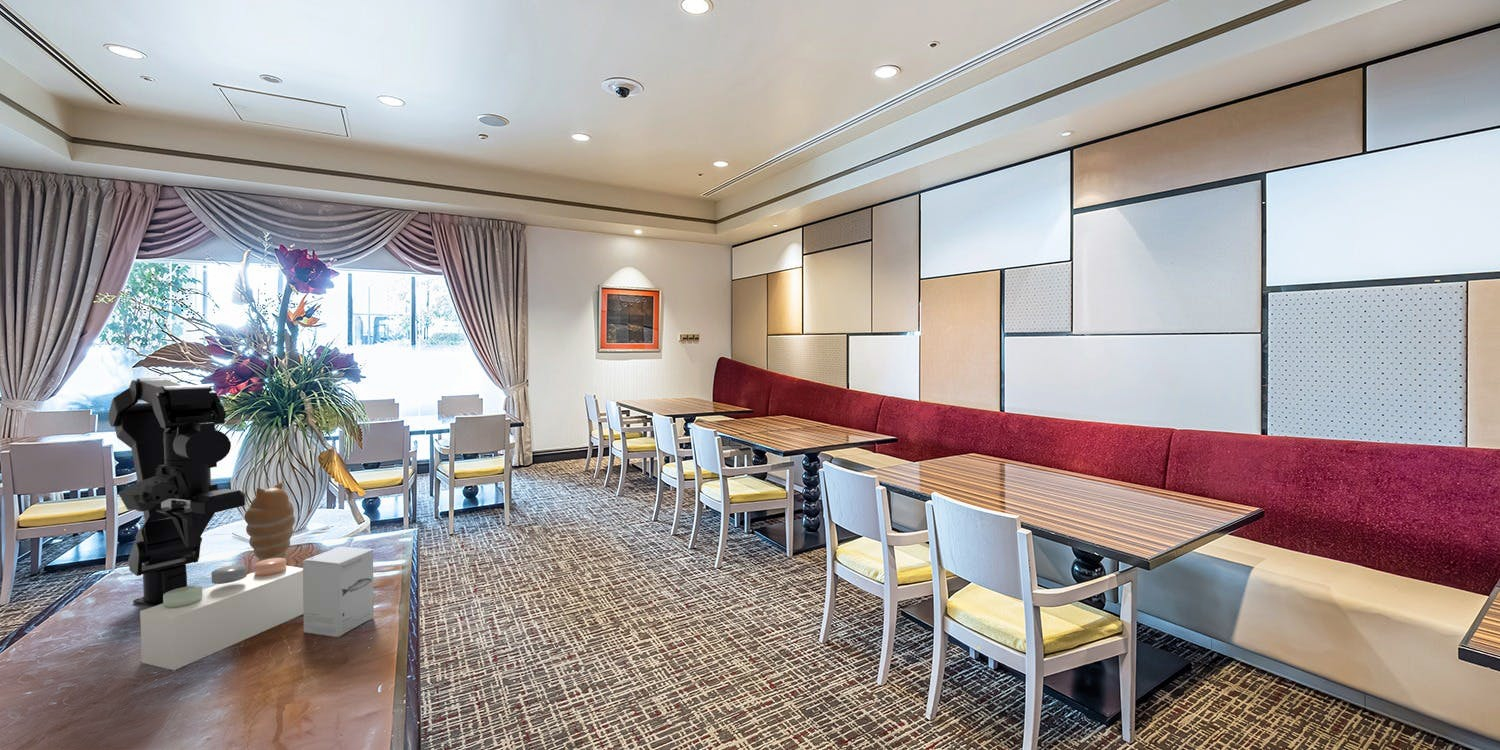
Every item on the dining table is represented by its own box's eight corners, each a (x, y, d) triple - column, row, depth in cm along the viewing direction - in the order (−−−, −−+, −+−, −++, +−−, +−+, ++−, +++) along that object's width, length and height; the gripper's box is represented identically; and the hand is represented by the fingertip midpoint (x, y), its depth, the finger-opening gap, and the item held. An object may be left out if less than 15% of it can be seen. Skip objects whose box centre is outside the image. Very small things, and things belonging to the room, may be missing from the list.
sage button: (156, 604, 91) (155, 595, 91) (189, 593, 95) (189, 584, 95) (176, 608, 90) (175, 599, 90) (209, 597, 94) (209, 587, 94)
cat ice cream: (277, 559, 132) (275, 479, 131) (306, 562, 130) (304, 481, 129) (235, 574, 123) (233, 489, 122) (266, 577, 122) (264, 491, 121)
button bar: (141, 662, 90) (140, 611, 89) (278, 606, 109) (277, 564, 108) (174, 670, 88) (172, 617, 87) (307, 612, 107) (306, 568, 107)
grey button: (204, 581, 97) (204, 572, 97) (234, 572, 101) (234, 563, 101) (224, 585, 96) (223, 576, 96) (253, 575, 100) (253, 566, 100)
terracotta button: (248, 573, 103) (247, 565, 103) (274, 564, 108) (274, 556, 107) (266, 576, 102) (266, 568, 102) (292, 567, 106) (292, 559, 106)
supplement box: (339, 638, 98) (337, 563, 97) (302, 633, 99) (300, 559, 99) (375, 618, 105) (374, 548, 105) (340, 613, 107) (339, 545, 106)
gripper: (89, 462, 97) (93, 555, 98) (168, 470, 92) (172, 569, 93) (171, 450, 108) (174, 535, 108) (246, 457, 102) (249, 546, 103)
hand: (190, 546), depth 103 cm, fingers closed
